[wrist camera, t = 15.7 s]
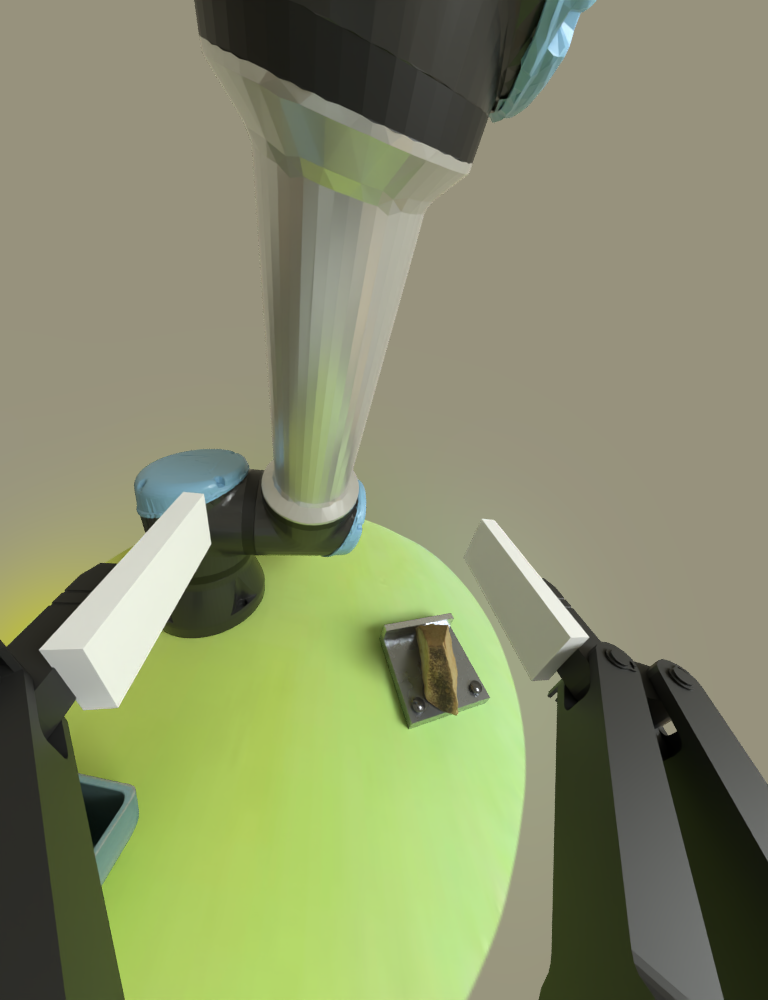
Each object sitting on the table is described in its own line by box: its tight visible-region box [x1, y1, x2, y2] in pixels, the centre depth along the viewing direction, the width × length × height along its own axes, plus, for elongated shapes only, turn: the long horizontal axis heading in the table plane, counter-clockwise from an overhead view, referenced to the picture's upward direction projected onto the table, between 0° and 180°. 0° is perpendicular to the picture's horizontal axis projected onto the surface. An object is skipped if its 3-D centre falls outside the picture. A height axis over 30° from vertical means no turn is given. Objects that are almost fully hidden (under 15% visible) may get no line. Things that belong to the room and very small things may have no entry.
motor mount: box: [380, 613, 490, 729], centre depth 40 cm, size 12×12×4 cm
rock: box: [416, 623, 458, 715], centre depth 38 cm, size 11×9×10 cm
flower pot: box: [78, 773, 139, 886], centre depth 19 cm, size 9×9×9 cm
